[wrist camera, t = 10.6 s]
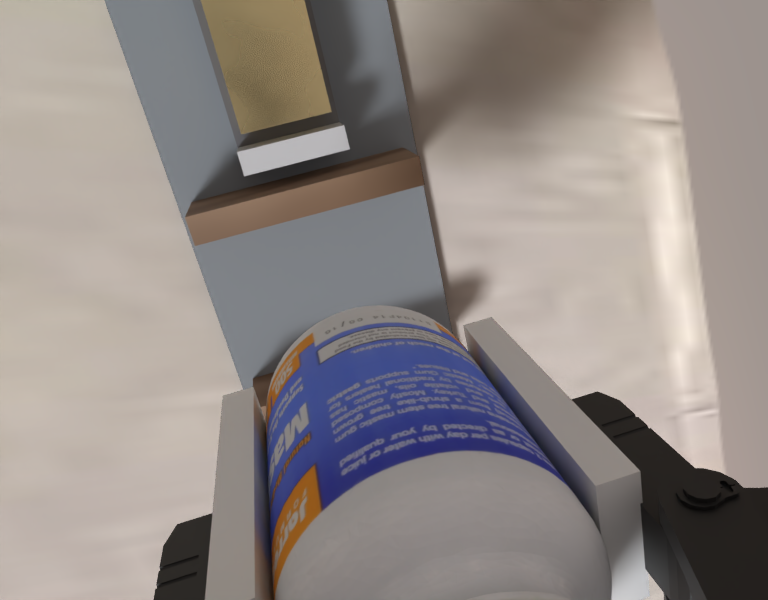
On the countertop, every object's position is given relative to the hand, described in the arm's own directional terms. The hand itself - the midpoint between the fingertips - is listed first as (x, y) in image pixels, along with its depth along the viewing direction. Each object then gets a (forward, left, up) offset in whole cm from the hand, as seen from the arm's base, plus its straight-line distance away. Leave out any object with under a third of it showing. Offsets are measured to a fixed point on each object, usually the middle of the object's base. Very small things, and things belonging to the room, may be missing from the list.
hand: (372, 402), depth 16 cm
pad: (-9, 0, -9) cm, 12 cm away
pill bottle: (0, 0, -1) cm, 1 cm away
